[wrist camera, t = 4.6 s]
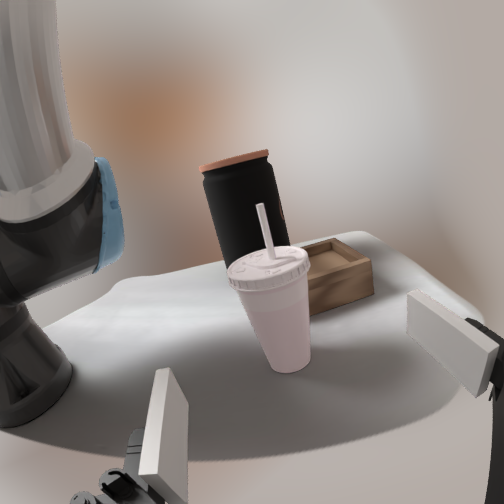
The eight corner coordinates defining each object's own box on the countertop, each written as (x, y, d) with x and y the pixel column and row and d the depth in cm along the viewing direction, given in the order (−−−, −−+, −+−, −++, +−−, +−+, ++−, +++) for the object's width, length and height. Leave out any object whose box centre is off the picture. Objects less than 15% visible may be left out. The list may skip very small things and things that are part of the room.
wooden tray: (287, 323, 32) (279, 288, 31) (268, 286, 42) (261, 258, 41) (374, 293, 33) (370, 260, 31) (338, 265, 43) (334, 237, 41)
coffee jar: (307, 262, 47) (281, 145, 41) (247, 290, 43) (212, 162, 37) (272, 251, 56) (248, 154, 51) (219, 272, 52) (190, 169, 47)
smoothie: (313, 388, 22) (276, 211, 18) (243, 378, 25) (192, 223, 21) (333, 339, 27) (307, 189, 23) (272, 336, 30) (236, 201, 26)
